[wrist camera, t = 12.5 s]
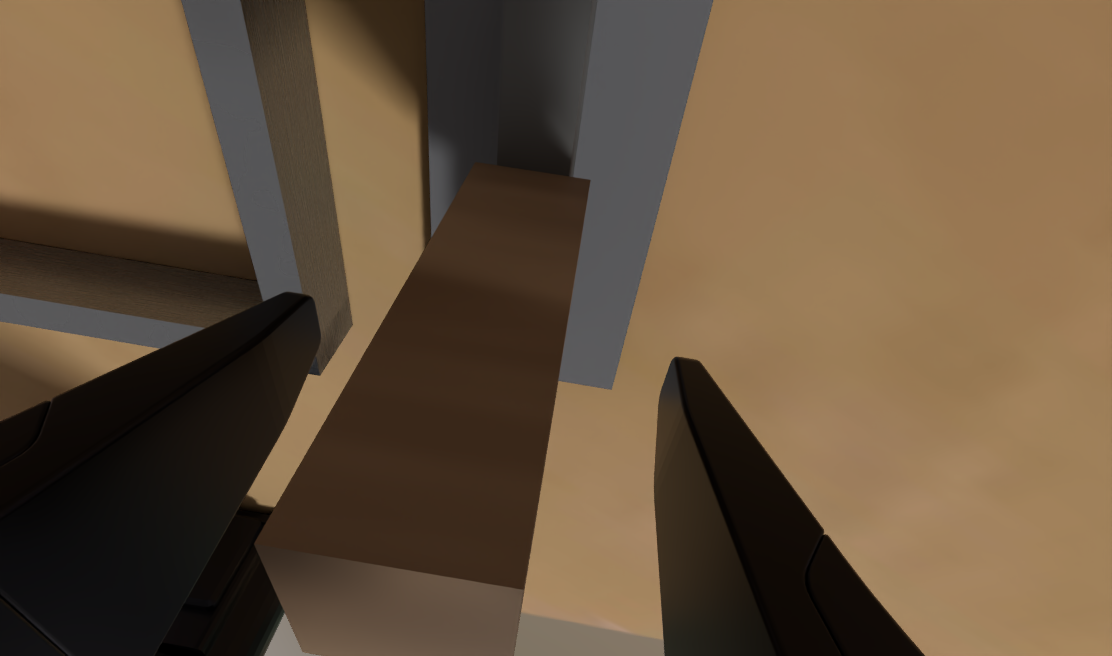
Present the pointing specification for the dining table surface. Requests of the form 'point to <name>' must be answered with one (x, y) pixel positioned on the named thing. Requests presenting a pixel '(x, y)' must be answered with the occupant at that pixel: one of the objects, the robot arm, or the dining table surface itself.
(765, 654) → the robot arm
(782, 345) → the dining table surface
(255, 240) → the slot channel
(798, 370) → the dining table surface
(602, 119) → the mat
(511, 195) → the t-shaped scraper
